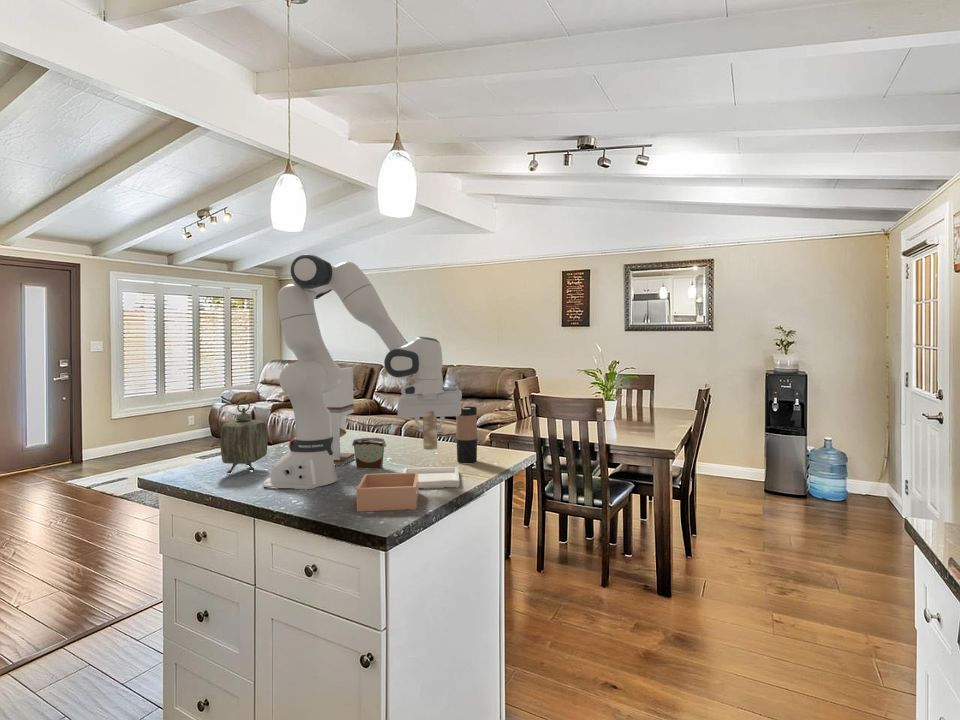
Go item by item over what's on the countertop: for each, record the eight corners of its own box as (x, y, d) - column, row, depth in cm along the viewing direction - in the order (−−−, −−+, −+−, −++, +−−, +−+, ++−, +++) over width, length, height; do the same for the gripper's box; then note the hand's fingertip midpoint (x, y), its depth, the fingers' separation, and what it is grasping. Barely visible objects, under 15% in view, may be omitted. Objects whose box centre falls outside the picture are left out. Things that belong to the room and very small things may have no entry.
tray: (400, 489, 162) (399, 482, 162) (404, 474, 180) (403, 468, 180) (459, 487, 163) (459, 480, 163) (457, 472, 181) (457, 466, 181)
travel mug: (475, 464, 193) (474, 409, 192) (454, 463, 194) (453, 408, 194) (479, 459, 200) (478, 406, 200) (459, 459, 202) (458, 406, 201)
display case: (342, 465, 193) (340, 368, 192) (314, 464, 195) (312, 369, 194) (354, 458, 205) (352, 367, 203) (328, 458, 206) (326, 367, 205)
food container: (391, 465, 192) (391, 438, 192) (385, 469, 186) (384, 441, 186) (360, 464, 195) (359, 437, 195) (352, 468, 189) (352, 440, 189)
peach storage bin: (356, 511, 141) (356, 488, 141) (365, 494, 157) (364, 474, 157) (416, 509, 143) (415, 487, 142) (418, 492, 158) (418, 472, 158)
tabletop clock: (246, 466, 194) (244, 397, 193) (269, 467, 192) (268, 397, 191) (221, 476, 179) (219, 402, 178) (246, 477, 178) (244, 402, 177)
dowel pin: (423, 449, 169) (422, 412, 168) (423, 447, 173) (422, 410, 173) (437, 449, 169) (436, 411, 169) (437, 446, 173) (436, 409, 173)
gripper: (461, 385, 174) (462, 428, 175) (398, 387, 173) (399, 430, 173) (462, 387, 168) (463, 431, 168) (396, 389, 166) (397, 433, 167)
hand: (430, 430), depth 171 cm, fingers closed on dowel pin, 4 cm apart
